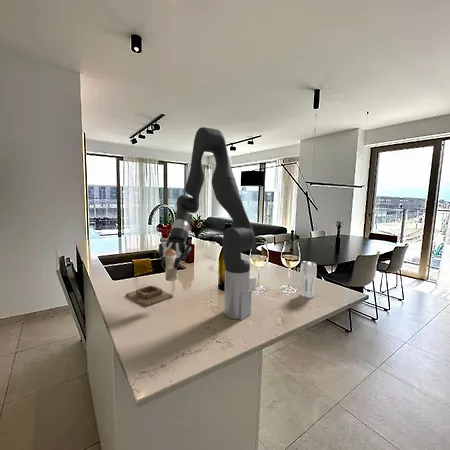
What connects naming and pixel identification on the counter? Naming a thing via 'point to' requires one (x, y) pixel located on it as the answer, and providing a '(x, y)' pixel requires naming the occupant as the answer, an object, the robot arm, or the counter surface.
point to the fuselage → (170, 265)
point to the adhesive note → (252, 283)
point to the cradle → (149, 295)
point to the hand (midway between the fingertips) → (169, 267)
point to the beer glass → (308, 278)
